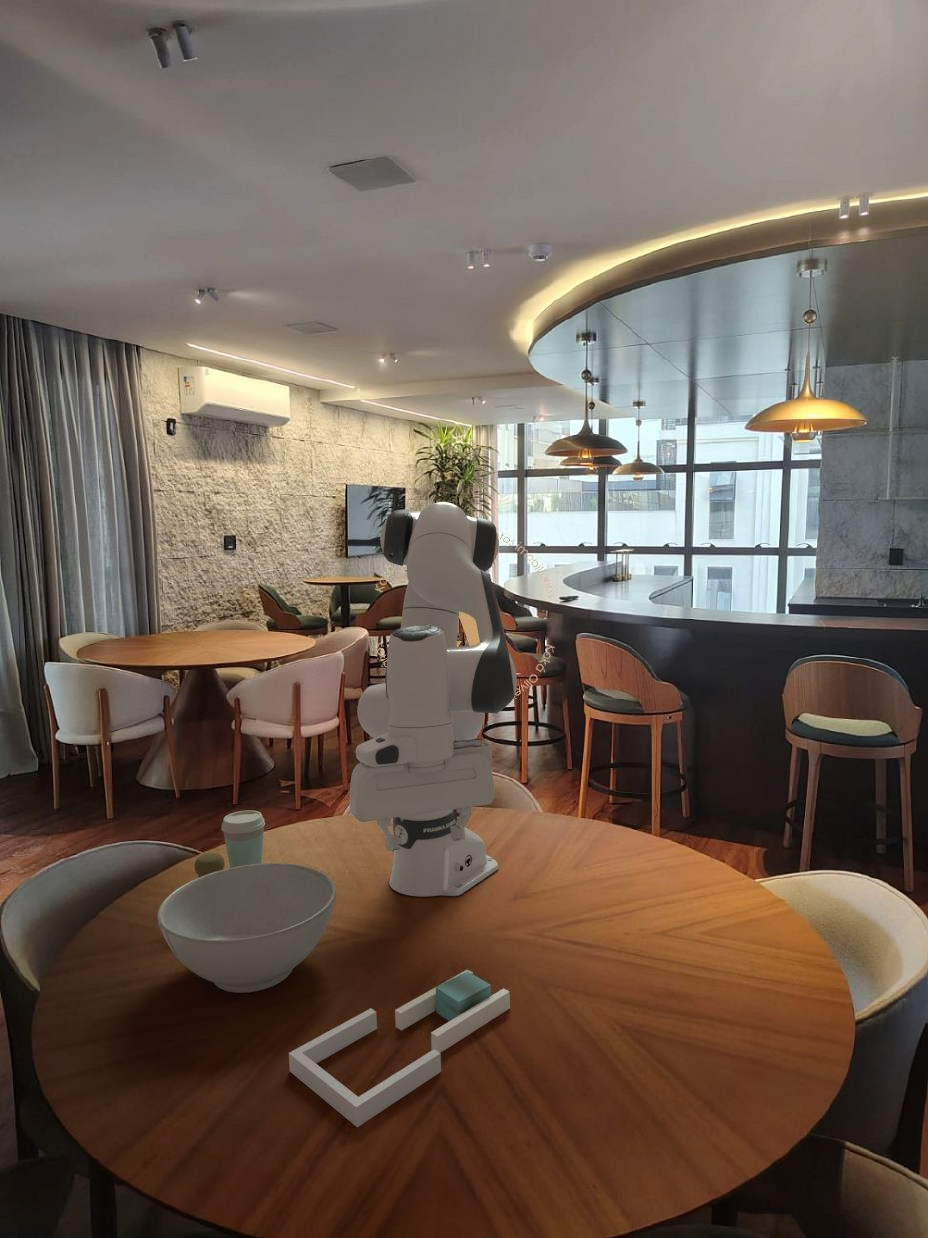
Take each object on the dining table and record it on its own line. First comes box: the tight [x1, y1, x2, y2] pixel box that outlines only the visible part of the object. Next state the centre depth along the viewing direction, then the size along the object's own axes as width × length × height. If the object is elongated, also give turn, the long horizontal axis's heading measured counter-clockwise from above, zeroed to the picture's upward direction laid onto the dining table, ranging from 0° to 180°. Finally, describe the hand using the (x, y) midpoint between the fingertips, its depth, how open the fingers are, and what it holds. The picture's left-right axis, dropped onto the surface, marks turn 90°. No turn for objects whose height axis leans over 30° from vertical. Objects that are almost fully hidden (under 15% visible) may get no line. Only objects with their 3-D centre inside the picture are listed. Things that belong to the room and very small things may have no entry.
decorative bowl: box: [157, 862, 337, 994], centre depth 127 cm, size 27×27×12 cm
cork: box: [194, 852, 226, 878], centre depth 147 cm, size 6×6×11 cm
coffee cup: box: [220, 809, 266, 868], centre depth 164 cm, size 8×9×12 cm
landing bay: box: [288, 1007, 442, 1128], centre depth 103 cm, size 13×14×2 cm
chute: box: [394, 969, 511, 1053], centre depth 114 cm, size 14×9×2 cm, turn 134°
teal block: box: [435, 971, 492, 1022], centre depth 115 cm, size 6×5×4 cm
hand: (425, 844), depth 112 cm, fingers open, 8 cm apart
